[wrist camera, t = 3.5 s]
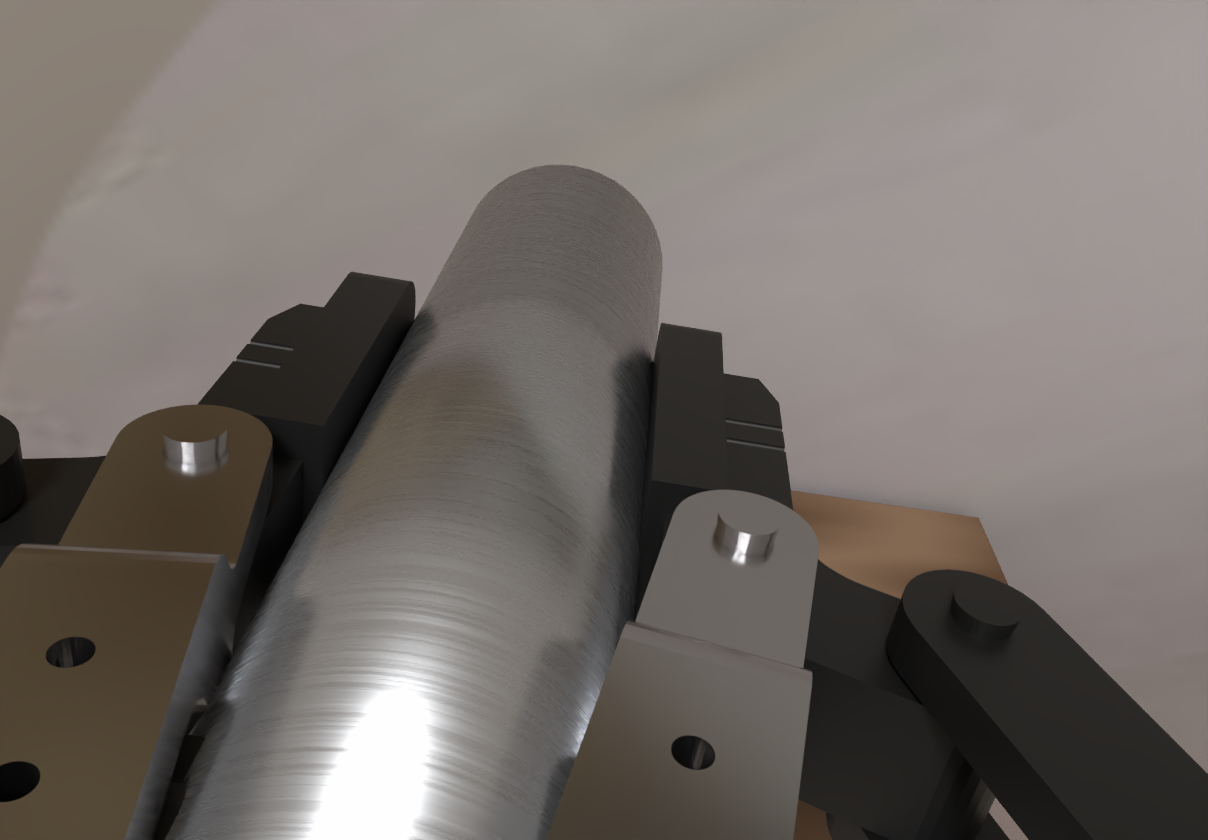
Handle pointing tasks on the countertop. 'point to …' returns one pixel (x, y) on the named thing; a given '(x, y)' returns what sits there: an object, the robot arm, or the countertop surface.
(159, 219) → the countertop surface
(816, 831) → the hole block
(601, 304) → the peg
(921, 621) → the robot arm
